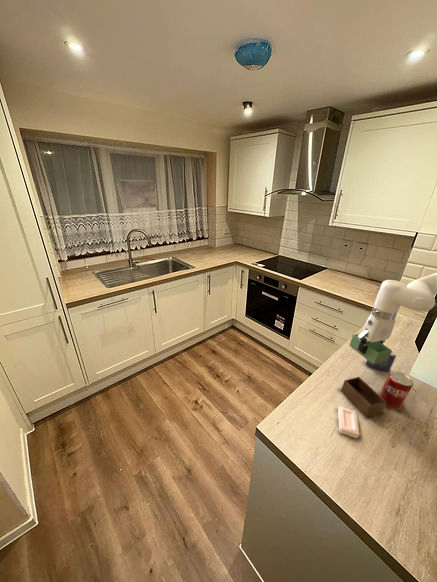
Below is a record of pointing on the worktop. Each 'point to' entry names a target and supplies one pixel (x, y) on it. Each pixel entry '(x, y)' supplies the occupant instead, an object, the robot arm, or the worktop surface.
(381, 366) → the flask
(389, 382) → the soda can
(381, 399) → the walnut basket
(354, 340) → the green basket
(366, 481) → the worktop surface
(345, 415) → the soap bar
